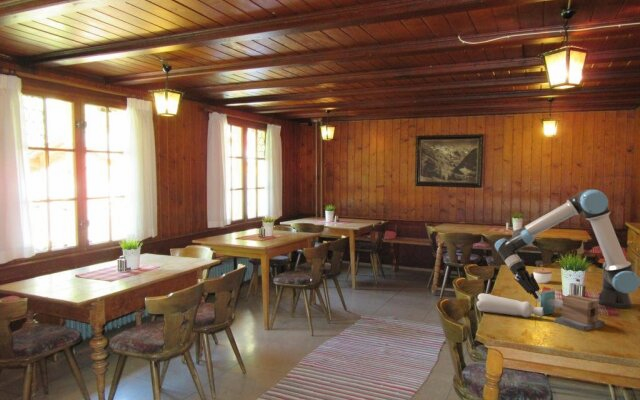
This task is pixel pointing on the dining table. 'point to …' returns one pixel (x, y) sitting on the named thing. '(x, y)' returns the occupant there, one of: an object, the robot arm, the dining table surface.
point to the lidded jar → (542, 275)
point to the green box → (549, 302)
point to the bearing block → (580, 313)
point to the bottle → (506, 306)
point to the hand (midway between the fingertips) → (542, 303)
